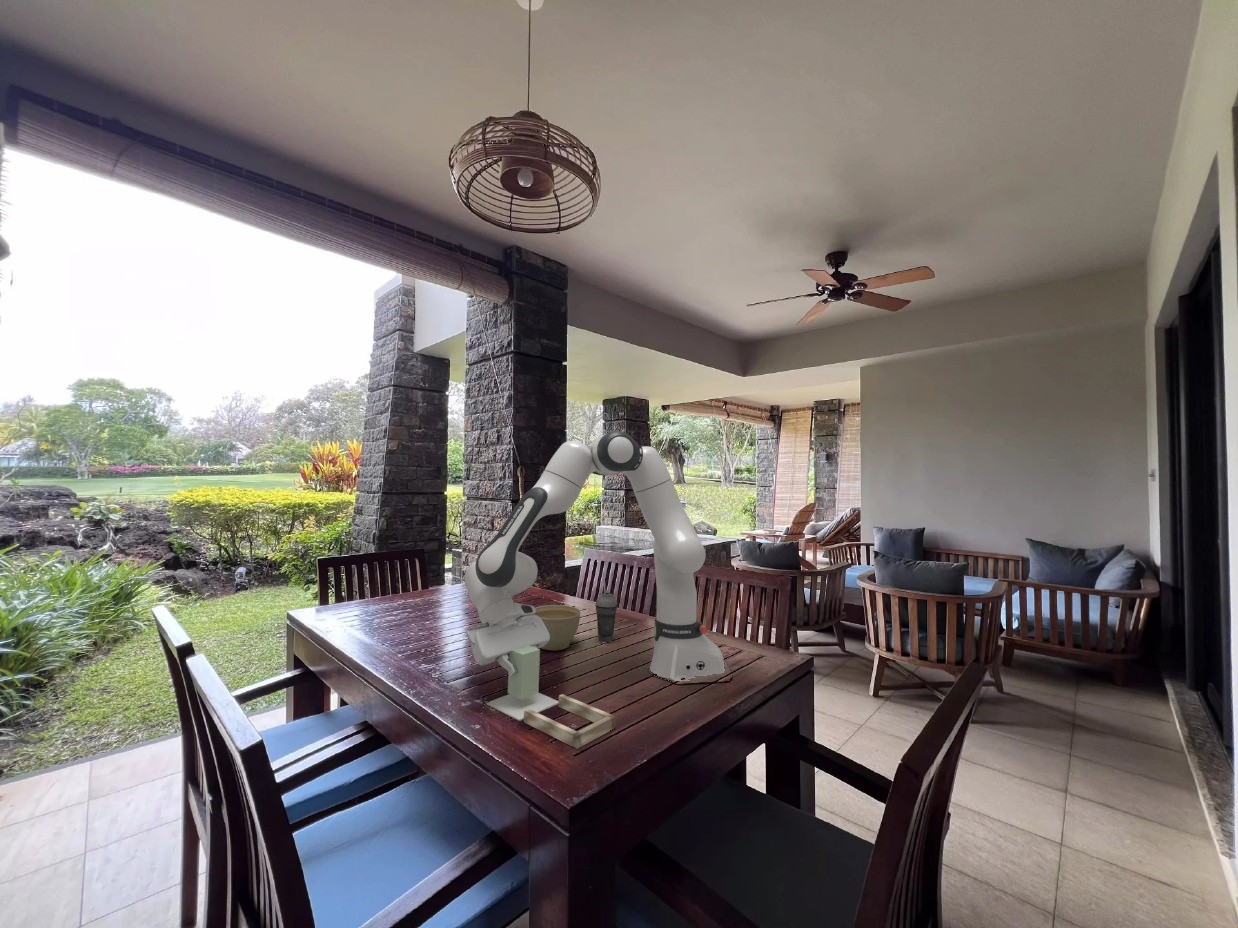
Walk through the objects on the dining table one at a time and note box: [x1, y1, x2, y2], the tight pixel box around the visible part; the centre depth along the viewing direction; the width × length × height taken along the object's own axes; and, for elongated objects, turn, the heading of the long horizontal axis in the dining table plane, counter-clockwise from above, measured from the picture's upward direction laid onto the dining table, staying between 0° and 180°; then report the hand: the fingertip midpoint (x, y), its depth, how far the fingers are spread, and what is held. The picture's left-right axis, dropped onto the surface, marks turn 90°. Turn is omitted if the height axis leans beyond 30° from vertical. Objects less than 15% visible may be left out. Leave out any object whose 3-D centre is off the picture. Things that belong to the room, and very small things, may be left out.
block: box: [507, 645, 541, 699], centre depth 119 cm, size 5×5×10 cm
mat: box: [485, 692, 559, 722], centre depth 119 cm, size 12×12×1 cm
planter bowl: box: [534, 604, 582, 652], centre depth 160 cm, size 16×16×11 cm
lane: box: [523, 693, 616, 750], centre depth 109 cm, size 16×11×2 cm
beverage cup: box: [594, 578, 618, 642], centre depth 166 cm, size 7×7×20 cm
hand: (525, 670), depth 119 cm, fingers closed on block, 5 cm apart
